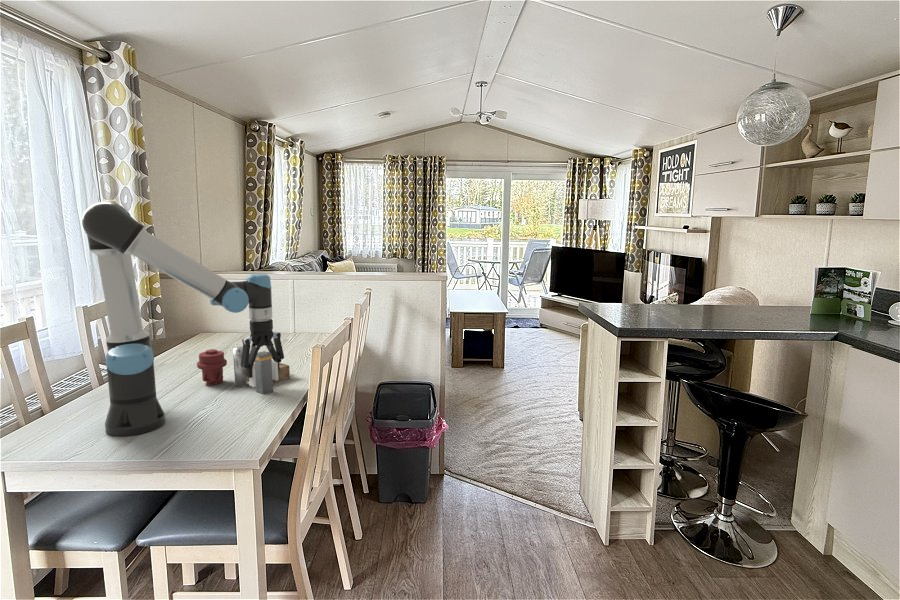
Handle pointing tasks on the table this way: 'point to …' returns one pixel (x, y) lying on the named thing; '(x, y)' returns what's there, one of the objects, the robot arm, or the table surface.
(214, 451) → the table surface
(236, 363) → the silver metal bar
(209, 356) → the mechanical component
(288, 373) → the socket block
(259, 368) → the square bit
